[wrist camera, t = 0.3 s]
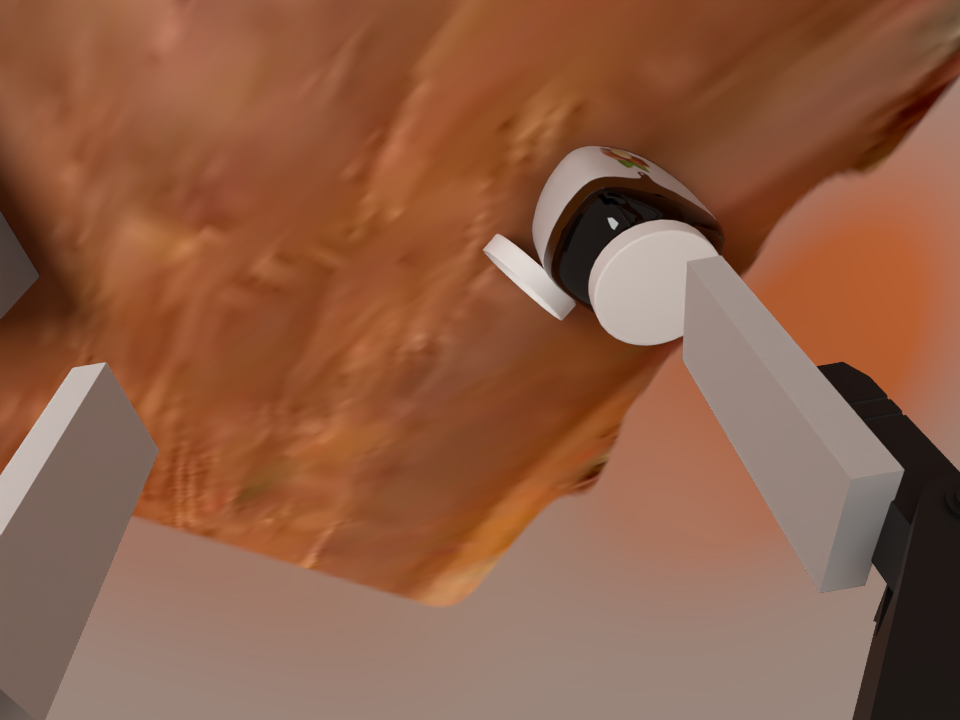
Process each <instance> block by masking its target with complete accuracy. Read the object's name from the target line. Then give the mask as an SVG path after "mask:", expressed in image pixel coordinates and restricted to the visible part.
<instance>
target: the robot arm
mask: <svg viewBox="0 0 960 720" xmlns="http://www.w3.org/2000/svg"><path fill="white" fill-rule="evenodd" d="M682 360H683V362H684V364H685V366H686V367H687V369H688V370H689V372H690V374H691V376H692V377H693V379H694V381H695V382H696V384H697V386H698V388H699V389H700V391H701V393H702V394H703V396H704V398H705V399H706V401H707V403H708V405H709V406H710V408H711V410H712V412H713V413H714V415H715V417H716V418H717V420H718V422H719V423H720V425H721V427H722V428H723V430H724V432H725V434H726V435H727V437H728V439H729V440H730V442H731V444H732V446H733V447H734V449H735V450H736V452H737V454H738V456H739V457H740V459H741V461H742V463H743V464H744V466H745V468H746V469H747V471H748V473H749V474H750V476H751V478H752V480H753V481H754V483H755V485H756V486H757V488H758V490H759V491H760V493H761V495H762V497H763V498H764V500H765V502H766V503H767V505H768V507H769V508H770V510H771V512H772V514H773V515H774V517H775V519H776V520H777V522H778V524H779V526H780V527H781V528H782V531H783V532H784V534H785V536H786V537H787V539H788V541H789V542H790V544H791V546H792V548H793V549H794V551H795V553H796V554H797V556H798V558H799V560H800V561H801V563H802V564H803V566H804V568H805V570H806V571H807V573H808V575H809V577H810V578H811V580H812V581H813V583H814V585H815V587H816V588H817V590H818V592H819V593H824V592H829V591H836V590H841V589H847V588H853V587H859V586H864V585H865V583H866V581H867V578H868V575H869V572H870V569H871V566H872V563H873V564H874V566H875V567H876V569H877V570H878V571H879V573H880V574H881V576H882V577H883V579H884V580H885V581H886V583H887V586H886V589H885V591H884V594H883V597H882V599H881V602H880V605H879V607H878V610H877V613H876V615H875V618H874V621H875V622H876V626H875V630H874V634H873V638H872V643H871V646H870V651H869V655H868V659H867V663H866V667H865V671H864V675H863V679H862V683H861V688H860V691H859V695H858V699H857V704H856V707H855V711H854V716H853V720H960V472H959V471H958V470H957V469H956V468H955V467H954V466H953V464H952V463H950V461H949V460H948V459H947V458H946V457H945V456H944V455H943V454H942V453H941V452H940V451H939V450H938V449H937V448H936V446H935V445H934V444H933V443H932V442H931V441H930V440H929V439H928V438H927V437H926V436H925V435H924V434H923V433H922V432H921V431H920V429H918V427H916V425H915V424H914V423H913V422H912V421H911V420H910V419H909V418H908V417H907V416H906V415H903V414H902V410H901V409H900V408H899V407H898V406H897V405H896V404H895V403H894V402H893V401H892V400H891V399H890V400H888V398H887V395H886V393H885V392H884V391H883V390H882V389H881V388H880V387H879V386H878V385H877V384H876V383H875V382H874V381H873V380H872V379H871V378H870V377H869V376H868V375H866V374H864V373H862V372H860V371H859V370H856V369H855V368H853V367H851V366H850V365H848V364H846V363H844V362H839V363H833V364H828V365H821V366H815V365H814V364H813V362H812V361H811V360H810V359H809V358H808V356H807V355H806V354H805V353H804V352H803V350H802V349H801V348H800V347H799V346H798V345H797V343H796V342H795V341H794V340H793V339H792V338H791V336H790V335H789V334H788V333H787V332H786V331H785V329H784V328H783V327H782V326H781V325H780V324H779V323H778V321H777V320H776V319H775V318H774V317H773V315H772V314H771V313H770V312H769V311H768V310H767V308H766V307H765V306H764V305H763V304H762V303H761V301H760V300H759V299H758V298H757V297H756V296H755V295H754V293H753V292H752V291H751V290H750V289H749V287H748V286H747V285H746V284H745V283H744V281H743V280H742V279H741V278H740V277H739V276H738V274H737V273H736V272H735V271H734V270H733V269H732V267H731V266H730V265H729V264H728V263H727V262H726V260H725V259H724V258H723V257H722V256H715V257H709V258H703V259H698V260H692V261H687V274H686V294H685V313H684V333H683V354H682ZM158 452H159V449H158V448H157V446H156V444H155V443H154V441H153V439H152V438H151V436H150V434H149V433H148V431H147V429H146V428H145V426H144V424H143V423H142V421H141V419H140V418H139V416H138V414H137V413H136V411H135V409H134V408H133V406H132V404H131V403H130V401H129V399H128V398H127V396H126V394H125V393H124V391H123V389H122V388H121V386H120V384H119V383H118V381H117V379H116V377H115V376H114V374H113V372H112V371H111V369H110V367H109V366H108V364H107V362H104V363H98V364H93V365H87V366H81V367H75V368H72V370H71V371H70V373H69V374H68V376H67V377H66V379H65V380H64V381H63V383H62V384H61V386H60V387H59V389H58V390H57V392H56V393H55V395H54V396H53V398H52V399H51V401H50V402H49V404H48V405H47V407H46V408H45V410H44V411H43V413H42V414H41V416H40V417H39V419H38V420H37V422H36V423H35V425H34V426H33V428H32V429H31V431H30V432H29V434H28V435H27V437H26V438H25V440H24V441H23V443H22V444H21V446H20V447H19V449H18V450H17V452H16V453H15V455H14V456H13V458H12V459H11V460H10V462H9V463H8V465H7V466H6V468H5V469H4V471H3V472H2V474H1V475H0V720H45V719H46V717H47V714H48V712H49V710H50V707H51V705H52V702H53V700H54V698H55V695H56V693H57V691H58V688H59V686H60V683H61V681H62V679H63V677H64V674H65V672H66V669H67V667H68V665H69V662H70V660H71V658H72V655H73V653H74V650H75V648H76V646H77V643H78V641H79V639H80V636H81V634H82V632H83V629H84V627H85V624H86V622H87V620H88V617H89V615H90V612H91V610H92V608H93V606H94V603H95V601H96V598H97V596H98V594H99V591H100V589H101V587H102V584H103V582H104V579H105V577H106V575H107V572H108V570H109V568H110V565H111V563H112V560H113V558H114V556H115V553H116V551H117V549H118V546H119V544H120V542H121V539H122V537H123V535H124V532H125V530H126V527H127V525H128V522H129V520H130V518H131V516H132V513H133V511H134V508H135V506H136V504H137V501H138V499H139V497H140V494H141V492H142V490H143V487H144V485H145V482H146V480H147V478H148V475H149V473H150V471H151V468H152V466H153V463H154V461H155V459H156V456H157V454H158Z"/></svg>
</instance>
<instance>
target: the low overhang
mask: <svg viewBox="0 0 960 720" xmlns="http://www.w3.org/2000/svg"><path fill="white" fill-rule="evenodd" d="M39 277H40V276H39V274H38V273H37V271H36V269H35V268H34V266H33V264H32V263H31V261H30V259H29V258H28V256H27V254H26V253H25V251H24V249H23V248H22V246H21V244H20V243H19V241H18V239H17V238H16V236H15V234H14V233H13V231H12V229H11V228H10V226H9V224H8V223H7V221H6V219H5V218H4V216H3V214H2V213H1V211H0V319H1V318H2V317H3V316H4V315H5V314H6V313H7V312H8V311H9V310H10V308H11V307H12V306H13V305H14V304H15V303H16V302H17V301H18V300H19V299H20V298H21V296H22V295H23V294H24V293H25V292H26V291H27V290H28V289H29V288H30V287H31V285H32V284H33V283H34V282H35V281H36V280H37V279H38V278H39Z"/></svg>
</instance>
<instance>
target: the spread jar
mask: <svg viewBox="0 0 960 720" xmlns="http://www.w3.org/2000/svg"><path fill="white" fill-rule="evenodd" d="M532 234H533V241H534V244H535V247H536V250H537V253H538V255H539V258H540V261H541V263H542V265H543V267H544V269H543V268H542V267H541V266H540V265H539V264H537V263H536V262H535V261H534V260H533V259H532V258H531V257H529V256H528V255H527V254H526V253H525V252H524V251H522V250H521V249H520V248H519V247H517V246H516V245H515V244H513V243H512V242H511V241H509V240H508V239H506V238H505V237H503V236H502V235H500V234H496V235H495V237H494V238H493V239H492V240H491V241H490V242H489V243H488V244H487V246H486V247H485V248H484V249H483V251H484V252H485V254H486V255H487V256H488V257H489V258H490V259H491V260H492V261H493V262H494V263H495V264H496V265H497V266H498V267H499V268H500V269H501V270H502V271H503V272H504V273H505V274H506V275H507V276H508V277H509V278H510V279H511V280H512V281H513V282H514V283H515V284H517V285H518V286H519V287H520V288H521V289H522V290H523V291H524V292H525V293H527V294H528V295H529V296H530V297H531V298H532V299H533V300H535V301H536V302H537V303H538V304H539V305H541V306H542V307H543V308H544V309H545V310H547V311H548V312H549V313H551V314H552V315H553V316H555V317H556V318H557V319H559V320H561V321H562V320H563V319H564V318H565V317H566V315H567V314H568V313H569V312H570V311H571V310H572V309H573V308H574V307H575V305H576V304H575V302H574V301H576V302H577V303H579V304H580V305H582V306H583V307H585V308H587V309H588V310H590V311H592V312H593V313H595V314H596V316H597V318H598V320H599V322H600V324H601V325H602V326H603V328H604V329H605V330H606V331H607V332H608V333H609V334H611V335H612V336H613V337H615V338H616V339H619V340H621V341H623V342H626V343H630V344H635V345H655V344H662V343H665V342H668V341H672V340H674V339H676V338H679V337H681V336H683V333H684V313H685V294H686V274H687V261H692V260H698V259H703V258H709V257H715V256H721V254H722V250H723V246H724V234H723V230H722V228H721V226H720V224H719V223H718V221H717V220H716V218H715V217H714V216H713V215H712V214H711V212H710V211H709V210H708V209H707V208H706V207H705V206H704V205H703V204H702V203H701V202H700V201H699V200H698V199H697V198H696V196H695V195H694V194H693V193H691V192H690V191H689V190H688V189H687V188H686V187H685V186H684V185H683V184H682V183H680V182H679V181H678V180H677V179H675V178H674V177H672V176H671V175H670V174H668V173H667V172H666V171H664V170H663V169H661V168H660V167H658V166H657V165H655V164H653V163H652V162H650V161H648V160H646V159H644V158H642V157H641V156H638V155H636V154H634V153H631V152H629V151H626V150H622V149H618V148H613V147H606V146H586V147H581V148H577V149H576V150H574V151H572V152H571V153H569V154H568V155H567V156H566V157H565V158H564V159H563V160H562V161H561V162H560V163H559V165H558V166H557V167H556V168H555V170H554V171H553V173H552V174H551V176H550V177H549V179H548V181H547V182H546V184H545V186H544V188H543V190H542V193H541V195H540V197H539V200H538V203H537V206H536V210H535V214H534V219H533V225H532Z"/></svg>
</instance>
